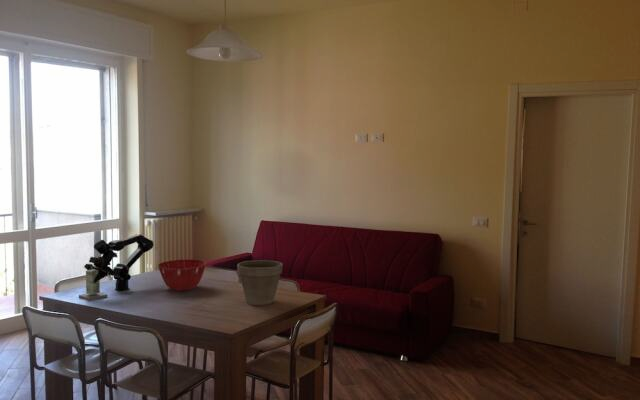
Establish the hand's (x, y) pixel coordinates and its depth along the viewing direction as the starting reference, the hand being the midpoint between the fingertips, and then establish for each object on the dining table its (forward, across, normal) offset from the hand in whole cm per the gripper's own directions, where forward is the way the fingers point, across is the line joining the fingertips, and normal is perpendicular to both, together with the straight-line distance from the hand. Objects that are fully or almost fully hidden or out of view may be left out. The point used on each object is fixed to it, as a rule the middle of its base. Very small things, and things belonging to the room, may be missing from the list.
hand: (90, 281), depth 311 cm
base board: (+6, 0, +8) cm, 9 cm away
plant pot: (-20, +89, +34) cm, 97 cm away
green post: (+4, 0, +6) cm, 7 cm away
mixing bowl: (-23, +29, +37) cm, 53 cm away
